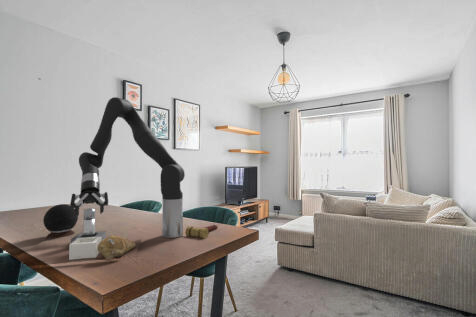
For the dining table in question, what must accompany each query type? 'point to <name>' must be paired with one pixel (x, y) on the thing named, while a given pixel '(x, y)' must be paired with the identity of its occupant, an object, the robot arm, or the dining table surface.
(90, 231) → the grey tall cylinder
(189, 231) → the gavel
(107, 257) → the seashell
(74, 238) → the socket block
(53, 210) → the black rounded disc
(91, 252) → the block
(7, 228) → the dining table surface
